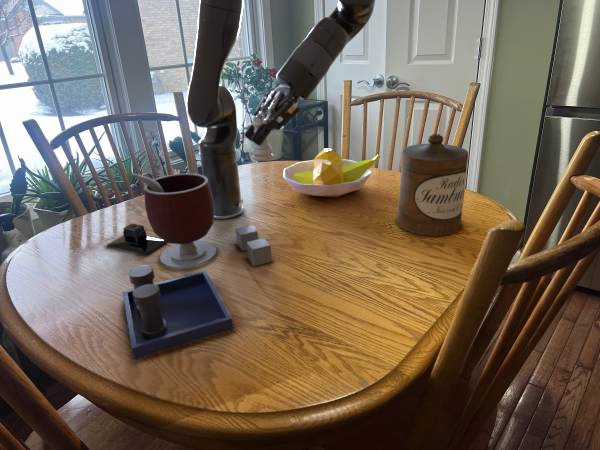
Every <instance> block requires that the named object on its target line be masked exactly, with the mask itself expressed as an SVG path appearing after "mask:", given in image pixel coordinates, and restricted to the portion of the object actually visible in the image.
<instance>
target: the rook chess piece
mask: <svg viewBox="0 0 600 450" xmlns="http://www.w3.org/2000/svg"><path fill="white" fill-rule="evenodd" d="M264 120H265V118H264V117H262V119H260V117H257V119H256V118H255V117H254V118H253V120H252V123H251V125H253V126H254V128H255V130H254V133H255V132H256V130H257V129H258V128H259V126H260V125H261V124H263V121H264ZM263 125H264V124H263ZM273 152H274V149H273V148H272V147H271V145H270V142H269V137H268V136H267V137H266V139H265V140H264V141H263V143H262V144H261V145H257V144H255V143H254V145H253V149H252V150H251V153H252V156H251V158H252V159H253V161H256V162H266V161H267V162H268V161H270V160H272V159H273V158H274V157H275V156H274V154H273Z"/></svg>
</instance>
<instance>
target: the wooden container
mask: <svg viewBox="0 0 600 450" xmlns="http://www.w3.org/2000/svg"><path fill="white" fill-rule="evenodd" d="M427 142H428V143H419V144H418V143H417V144H412V145H408V146H406V147H404V148H403V150H401V151H402V152H401V166H400V167H401V169H400V179H399V189H398V190H399V191H398V204H397V205H398V206H397V207H398V209H397V224H398V226H399V227H400V228H402V229H403V230H405V231H407V232H409V233H412V234H416V235H421V236H428V237H434V236H435V237H438V236H446V235H447V236H448V235H450V234H453V233H455V232H457V231H458V230H459V229H460V228H461V223H462V215H463V208H464V207H463V206H464V199H465V191H466V190H465V189H466V181H467V180H466V178H467V169H468V161H469V160H468V159H469V151H468V150H467V149H465V148H463V147H460V146H458V145H453V144H445V143H443V142H444V137H443V135H441V134H440V133H432V134H431V135H429V136H428V137H427Z"/></svg>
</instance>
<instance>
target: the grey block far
mask: <svg viewBox="0 0 600 450" xmlns="http://www.w3.org/2000/svg"><path fill="white" fill-rule="evenodd" d="M234 231H235V238H236V245H237V246H238V247H239V249H240V250H241V251H242V252H243V251H247V243H246V242H250V241H254V240H258V239H259V233H258V230H257V229H256V228H255V226H254V225H252V224H250V225H245V226H240V227H236V228H235V230H234Z"/></svg>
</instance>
